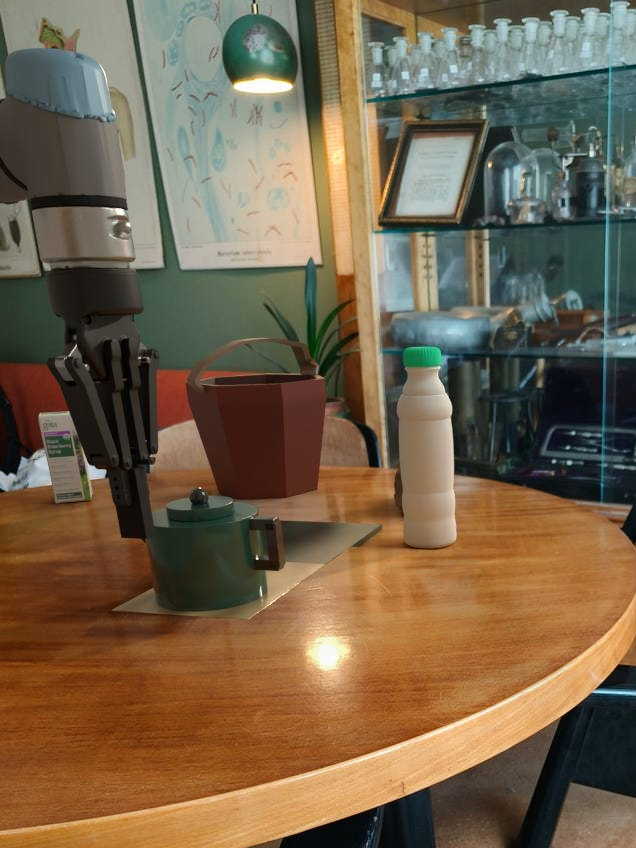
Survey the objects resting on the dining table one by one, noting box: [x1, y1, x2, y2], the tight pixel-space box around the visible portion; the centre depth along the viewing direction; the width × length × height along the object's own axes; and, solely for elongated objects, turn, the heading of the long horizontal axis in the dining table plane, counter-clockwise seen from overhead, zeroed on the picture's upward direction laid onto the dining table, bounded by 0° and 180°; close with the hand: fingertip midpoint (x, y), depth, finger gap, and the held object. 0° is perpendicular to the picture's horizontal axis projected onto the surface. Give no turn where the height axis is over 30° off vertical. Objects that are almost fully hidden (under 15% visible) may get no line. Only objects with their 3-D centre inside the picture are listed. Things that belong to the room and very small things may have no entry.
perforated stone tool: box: [393, 467, 403, 512], centre depth 137 cm, size 15×5×7 cm, turn 1°
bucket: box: [185, 337, 327, 500], centre depth 150 cm, size 24×22×25 cm
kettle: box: [140, 487, 286, 612], centre depth 96 cm, size 18×12×12 cm, turn 76°
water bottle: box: [396, 346, 457, 550], centre depth 114 cm, size 7×7×25 cm
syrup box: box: [37, 410, 94, 505], centre depth 148 cm, size 6×6×14 cm
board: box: [111, 519, 383, 621], centre depth 110 cm, size 16×40×1 cm, turn 166°
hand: (138, 536), depth 84 cm, fingers closed
